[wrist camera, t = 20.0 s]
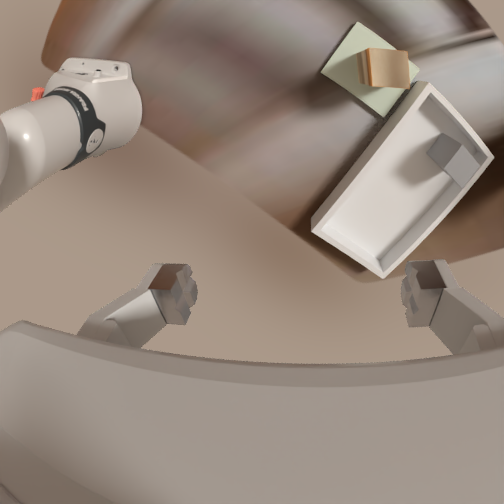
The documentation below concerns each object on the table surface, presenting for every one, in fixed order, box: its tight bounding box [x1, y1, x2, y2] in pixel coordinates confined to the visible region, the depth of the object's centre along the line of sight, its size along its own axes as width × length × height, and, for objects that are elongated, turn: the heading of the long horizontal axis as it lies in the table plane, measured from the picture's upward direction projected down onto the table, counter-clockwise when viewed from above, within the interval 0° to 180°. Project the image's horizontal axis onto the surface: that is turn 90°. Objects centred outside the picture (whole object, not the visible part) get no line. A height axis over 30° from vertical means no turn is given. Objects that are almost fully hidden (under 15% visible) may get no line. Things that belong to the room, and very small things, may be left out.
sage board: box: [321, 22, 420, 118], centre depth 32 cm, size 11×10×1 cm
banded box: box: [356, 48, 410, 89], centre depth 28 cm, size 5×5×9 cm
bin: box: [311, 81, 494, 279], centre depth 39 cm, size 16×29×4 cm, turn 151°
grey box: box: [426, 133, 480, 188], centre depth 33 cm, size 4×4×7 cm
